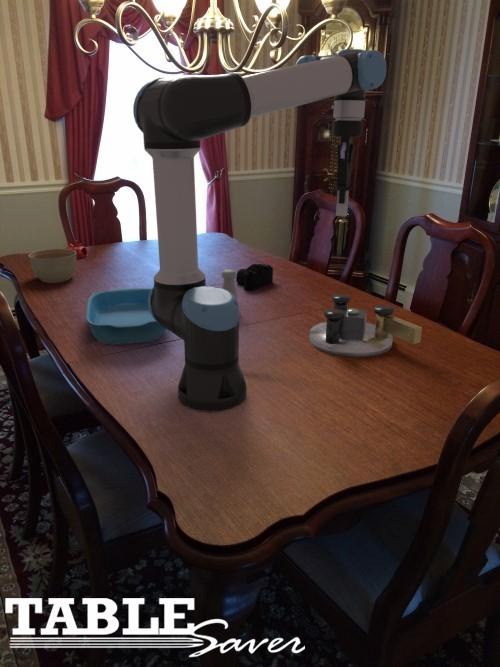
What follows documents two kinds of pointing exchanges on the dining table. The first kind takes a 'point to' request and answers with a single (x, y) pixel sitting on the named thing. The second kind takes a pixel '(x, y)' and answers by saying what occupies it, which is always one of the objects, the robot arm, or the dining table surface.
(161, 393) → the dining table surface
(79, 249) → the pomegranate
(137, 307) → the casserole dish
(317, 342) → the levelling base
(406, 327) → the brass bar with knob
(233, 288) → the salt shaker
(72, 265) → the planter bowl
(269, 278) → the film camera
